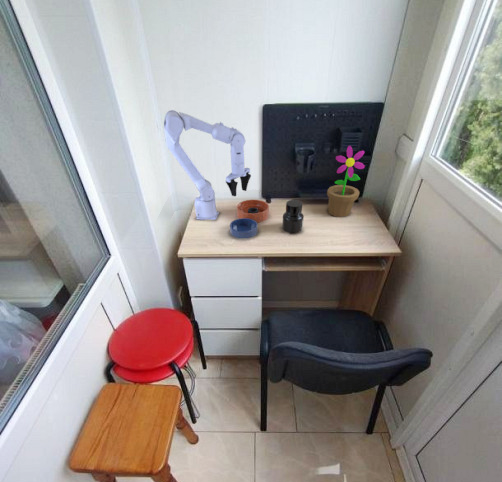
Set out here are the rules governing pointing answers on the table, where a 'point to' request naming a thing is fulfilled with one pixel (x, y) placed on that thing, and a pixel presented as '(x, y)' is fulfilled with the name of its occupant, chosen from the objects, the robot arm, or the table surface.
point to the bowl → (260, 205)
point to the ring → (252, 210)
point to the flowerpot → (344, 186)
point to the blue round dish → (243, 228)
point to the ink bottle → (293, 217)
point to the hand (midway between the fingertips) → (239, 193)
